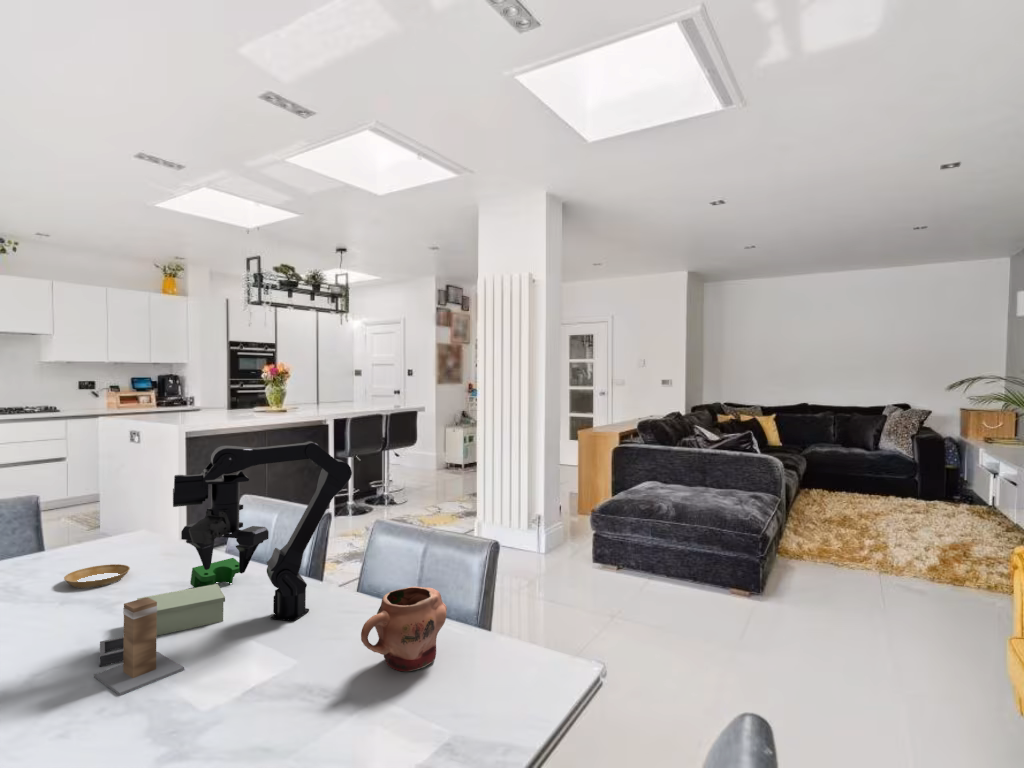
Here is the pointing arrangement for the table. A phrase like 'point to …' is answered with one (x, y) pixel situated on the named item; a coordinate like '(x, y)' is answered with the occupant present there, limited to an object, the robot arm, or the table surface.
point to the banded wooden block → (139, 637)
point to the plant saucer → (95, 570)
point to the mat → (125, 683)
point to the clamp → (215, 573)
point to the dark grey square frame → (112, 656)
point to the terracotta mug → (407, 627)
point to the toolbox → (188, 608)
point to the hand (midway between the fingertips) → (224, 571)
